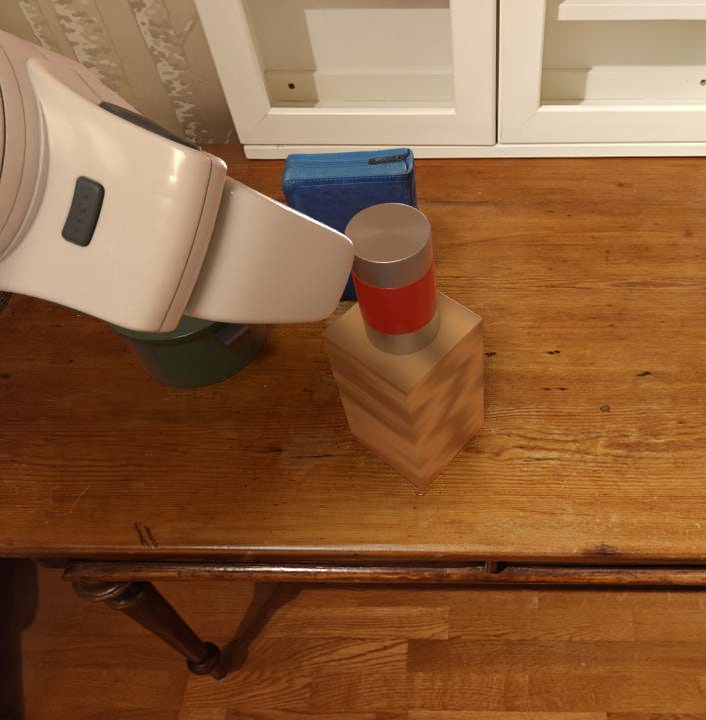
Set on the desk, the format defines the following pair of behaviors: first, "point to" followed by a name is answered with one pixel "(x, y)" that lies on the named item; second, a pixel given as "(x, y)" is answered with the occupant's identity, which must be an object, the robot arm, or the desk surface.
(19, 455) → the desk surface
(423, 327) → the can
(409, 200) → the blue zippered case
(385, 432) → the block
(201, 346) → the pot
